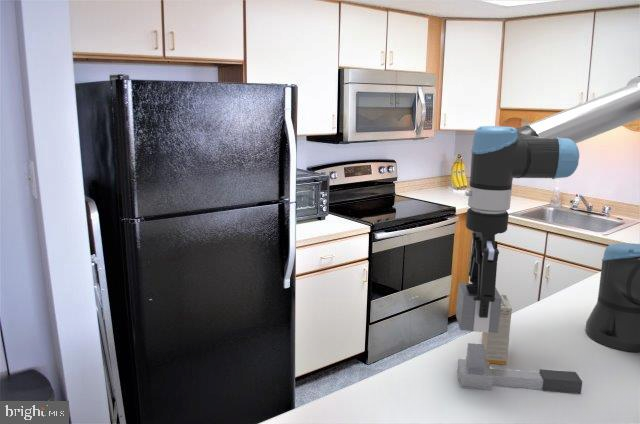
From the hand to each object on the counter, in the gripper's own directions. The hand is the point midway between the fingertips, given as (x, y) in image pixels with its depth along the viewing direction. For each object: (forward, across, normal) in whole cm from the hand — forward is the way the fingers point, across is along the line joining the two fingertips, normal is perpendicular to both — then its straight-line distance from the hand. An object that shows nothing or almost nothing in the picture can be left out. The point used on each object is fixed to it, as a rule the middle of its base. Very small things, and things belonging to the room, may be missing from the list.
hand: (477, 322), depth 102 cm
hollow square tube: (0, 0, 0) cm, 0 cm away
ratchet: (+13, 0, +9) cm, 15 cm away
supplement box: (+13, -12, +6) cm, 19 cm away
